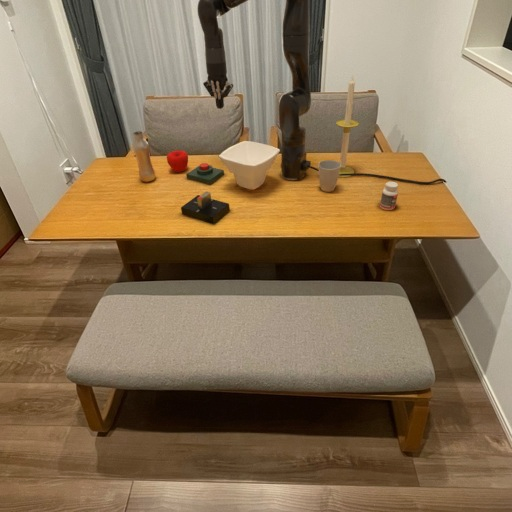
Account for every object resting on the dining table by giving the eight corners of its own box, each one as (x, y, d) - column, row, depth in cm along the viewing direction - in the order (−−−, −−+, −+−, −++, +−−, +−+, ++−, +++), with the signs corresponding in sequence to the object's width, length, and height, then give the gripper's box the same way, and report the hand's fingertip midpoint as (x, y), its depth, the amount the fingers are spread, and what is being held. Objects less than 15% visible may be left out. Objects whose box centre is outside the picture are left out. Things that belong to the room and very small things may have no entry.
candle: (327, 167, 164) (335, 72, 141) (351, 166, 164) (363, 71, 141) (332, 178, 156) (341, 79, 133) (356, 176, 156) (370, 78, 133)
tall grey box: (207, 201, 139) (206, 190, 137) (211, 202, 139) (210, 192, 136) (198, 208, 136) (196, 197, 133) (202, 209, 135) (200, 199, 132)
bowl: (245, 170, 164) (243, 139, 156) (284, 181, 155) (284, 148, 147) (217, 188, 153) (213, 155, 144) (257, 202, 144) (256, 167, 135)
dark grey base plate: (224, 174, 162) (223, 166, 160) (210, 184, 156) (209, 175, 153) (201, 169, 167) (200, 160, 165) (186, 178, 161) (185, 170, 158)
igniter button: (210, 168, 160) (210, 164, 159) (205, 171, 157) (205, 167, 156) (203, 166, 161) (203, 162, 160) (198, 169, 159) (198, 165, 158)
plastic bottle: (158, 176, 163) (148, 129, 151) (153, 183, 158) (142, 136, 146) (143, 176, 164) (132, 129, 152) (138, 183, 159) (126, 136, 146)
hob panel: (229, 210, 140) (229, 203, 138) (213, 224, 133) (213, 216, 131) (198, 201, 145) (197, 194, 143) (182, 214, 139) (180, 207, 137)
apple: (173, 176, 163) (169, 159, 158) (166, 169, 169) (163, 152, 164) (193, 171, 166) (190, 154, 161) (185, 164, 172) (182, 147, 167)
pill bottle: (392, 211, 135) (397, 189, 129) (377, 208, 137) (381, 185, 132) (396, 205, 138) (401, 182, 133) (382, 201, 141) (386, 179, 135)
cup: (340, 185, 151) (343, 161, 145) (334, 195, 145) (337, 170, 139) (320, 182, 154) (322, 158, 148) (314, 191, 148) (315, 167, 142)
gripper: (236, 59, 142) (239, 107, 153) (207, 56, 148) (212, 103, 158) (225, 63, 137) (228, 113, 148) (195, 61, 143) (201, 108, 153)
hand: (220, 108), depth 153 cm, fingers closed
